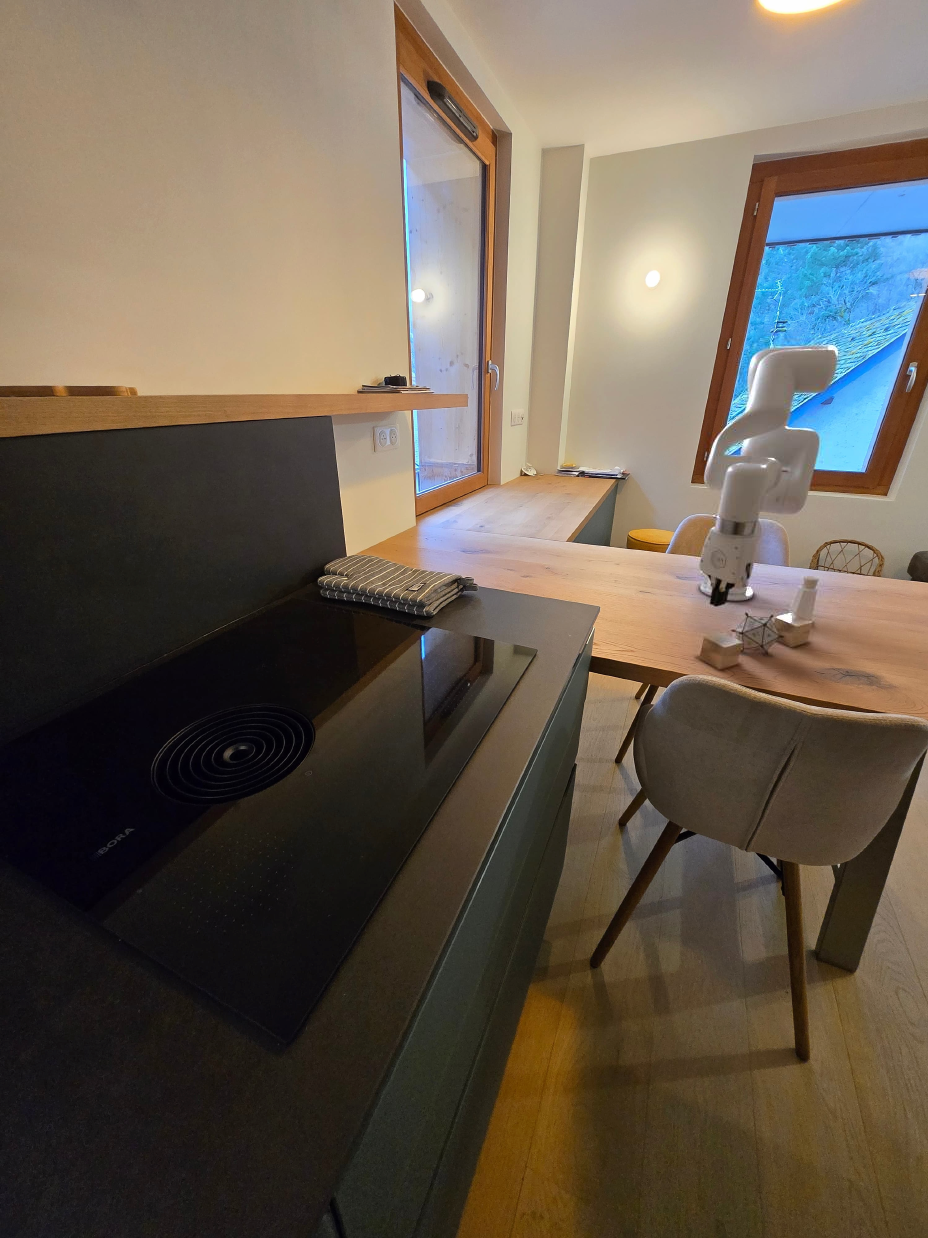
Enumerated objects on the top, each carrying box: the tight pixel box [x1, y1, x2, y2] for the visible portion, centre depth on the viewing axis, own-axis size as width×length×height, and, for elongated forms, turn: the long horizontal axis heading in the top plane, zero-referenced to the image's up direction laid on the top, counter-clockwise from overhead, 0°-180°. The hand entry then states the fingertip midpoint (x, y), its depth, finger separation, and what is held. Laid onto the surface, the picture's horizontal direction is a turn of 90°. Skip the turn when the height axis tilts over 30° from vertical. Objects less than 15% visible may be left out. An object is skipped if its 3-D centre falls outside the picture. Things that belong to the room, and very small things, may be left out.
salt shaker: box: [786, 575, 820, 621], centre depth 113 cm, size 5×5×11 cm
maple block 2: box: [773, 613, 814, 648], centre depth 106 cm, size 5×5×5 cm
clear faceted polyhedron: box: [730, 611, 784, 656], centre depth 102 cm, size 9×8×10 cm
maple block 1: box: [698, 631, 743, 671], centre depth 99 cm, size 5×5×5 cm
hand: (717, 604), depth 111 cm, fingers closed
